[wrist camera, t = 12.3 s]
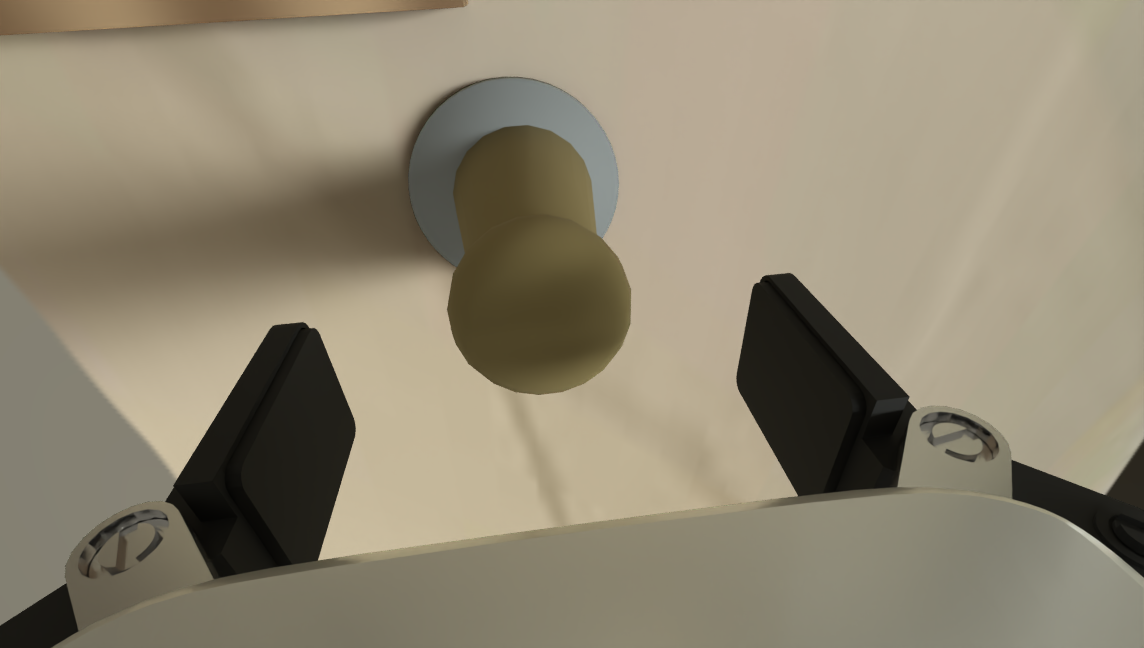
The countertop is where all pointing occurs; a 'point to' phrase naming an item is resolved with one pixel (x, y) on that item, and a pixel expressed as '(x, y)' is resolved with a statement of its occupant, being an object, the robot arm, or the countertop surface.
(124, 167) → the countertop surface
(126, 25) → the socket ring
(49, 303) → the countertop surface
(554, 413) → the countertop surface
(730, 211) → the countertop surface
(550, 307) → the cork
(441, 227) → the coaster
